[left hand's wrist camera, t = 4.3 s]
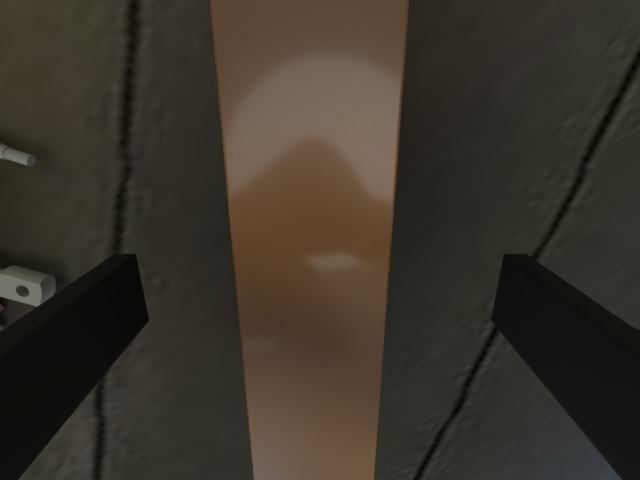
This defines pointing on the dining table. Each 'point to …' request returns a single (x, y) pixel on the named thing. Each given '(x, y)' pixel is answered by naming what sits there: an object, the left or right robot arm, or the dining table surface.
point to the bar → (311, 220)
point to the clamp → (19, 279)
